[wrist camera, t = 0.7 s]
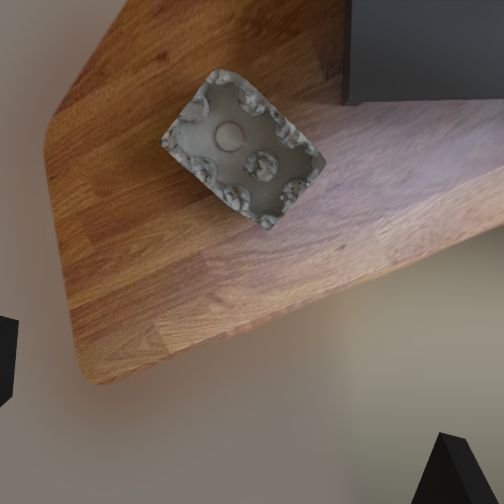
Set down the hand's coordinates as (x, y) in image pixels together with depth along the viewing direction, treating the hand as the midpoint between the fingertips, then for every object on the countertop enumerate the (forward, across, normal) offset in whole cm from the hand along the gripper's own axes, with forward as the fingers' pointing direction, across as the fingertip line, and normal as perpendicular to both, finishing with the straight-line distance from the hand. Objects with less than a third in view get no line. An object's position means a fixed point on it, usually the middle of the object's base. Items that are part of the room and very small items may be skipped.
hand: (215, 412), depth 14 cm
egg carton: (+24, -4, +6) cm, 25 cm away
